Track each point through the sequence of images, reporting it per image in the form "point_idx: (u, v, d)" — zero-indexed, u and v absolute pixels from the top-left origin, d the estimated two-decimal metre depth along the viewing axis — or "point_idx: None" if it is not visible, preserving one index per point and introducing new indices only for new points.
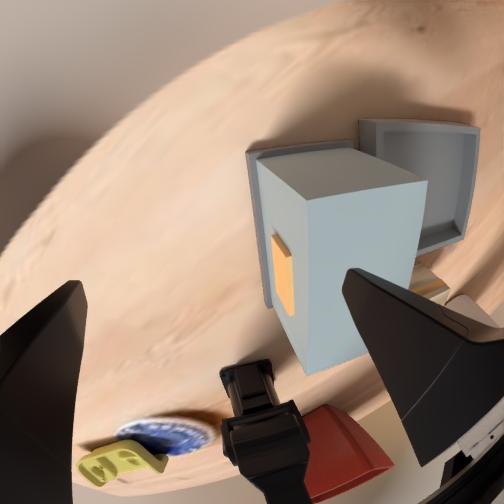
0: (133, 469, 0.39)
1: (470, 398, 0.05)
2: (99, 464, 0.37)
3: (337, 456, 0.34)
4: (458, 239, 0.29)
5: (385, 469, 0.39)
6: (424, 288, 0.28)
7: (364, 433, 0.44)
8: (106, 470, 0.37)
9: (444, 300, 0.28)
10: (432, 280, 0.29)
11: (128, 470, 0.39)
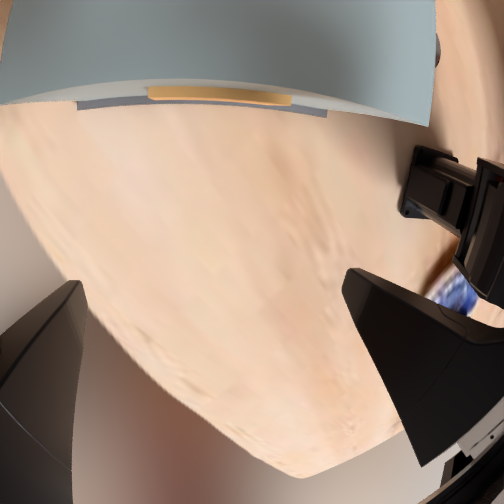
0: None
1: (470, 398, 0.05)
2: None
3: None
4: None
5: None
6: None
7: None
8: None
9: None
10: None
11: None
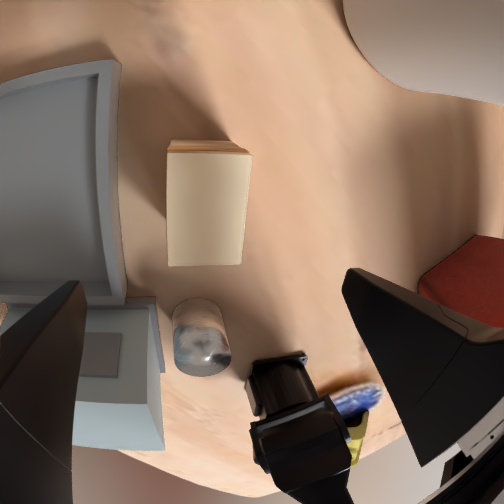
0: (356, 440, 0.47)
1: (470, 398, 0.05)
2: None
3: None
4: (106, 81, 0.12)
5: None
6: None
7: None
8: None
9: (204, 161, 0.13)
10: None
11: (355, 442, 0.47)
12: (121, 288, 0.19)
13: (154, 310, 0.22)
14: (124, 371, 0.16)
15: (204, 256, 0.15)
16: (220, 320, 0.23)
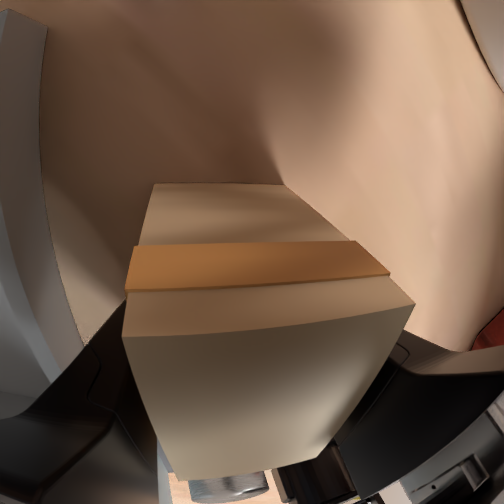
0: None
1: (407, 439, 0.04)
2: None
3: None
4: None
5: None
6: None
7: None
8: None
9: (274, 349, 0.03)
10: None
11: None
12: None
13: None
14: None
15: (250, 467, 0.06)
16: None
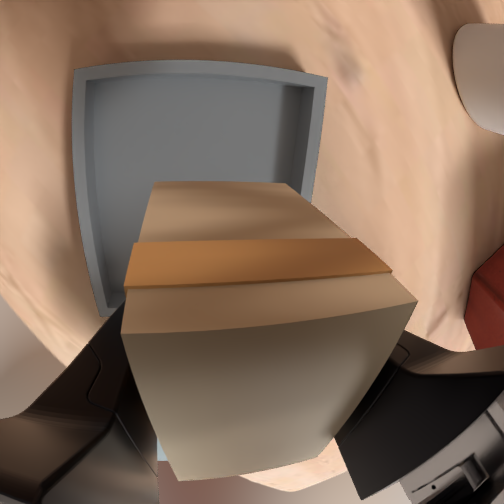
0: None
1: (407, 438, 0.04)
2: None
3: None
4: (321, 97, 0.15)
5: None
6: None
7: None
8: None
9: (276, 346, 0.03)
10: None
11: None
12: None
13: None
14: None
15: (251, 467, 0.06)
16: None
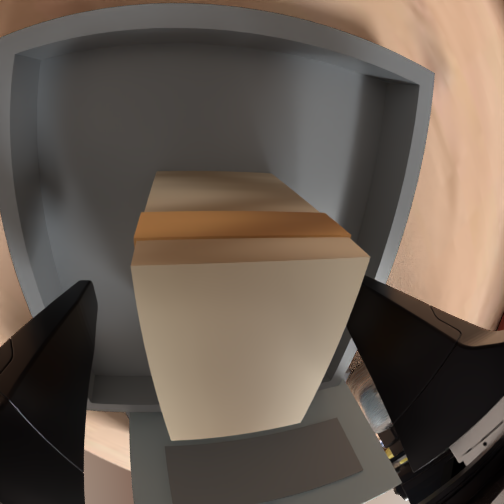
0: None
1: (462, 403, 0.05)
2: None
3: None
4: (427, 103, 0.08)
5: None
6: None
7: None
8: None
9: (247, 283, 0.04)
10: None
11: None
12: None
13: (347, 377, 0.18)
14: (364, 460, 0.12)
15: (238, 427, 0.07)
16: None
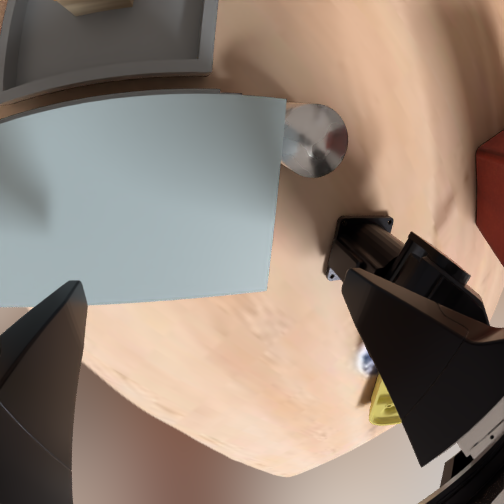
0: None
1: (470, 398, 0.05)
2: (385, 405, 0.45)
3: None
4: None
5: None
6: None
7: None
8: None
9: None
10: None
11: None
12: (212, 51, 0.13)
13: None
14: None
15: None
16: None
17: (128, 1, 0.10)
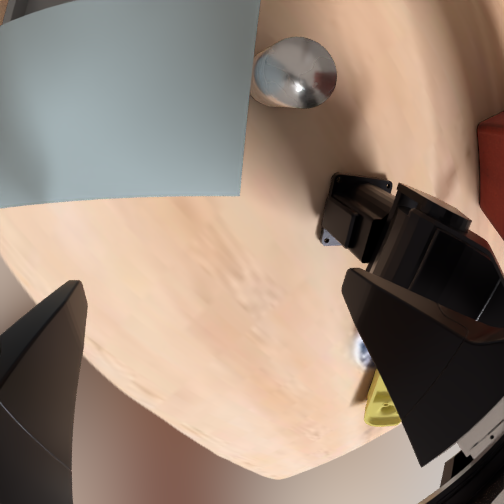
0: None
1: (470, 398, 0.05)
2: (382, 403, 0.42)
3: None
4: None
5: None
6: None
7: None
8: (392, 403, 0.42)
9: None
10: None
11: None
12: None
13: None
14: None
15: None
16: None
17: None
